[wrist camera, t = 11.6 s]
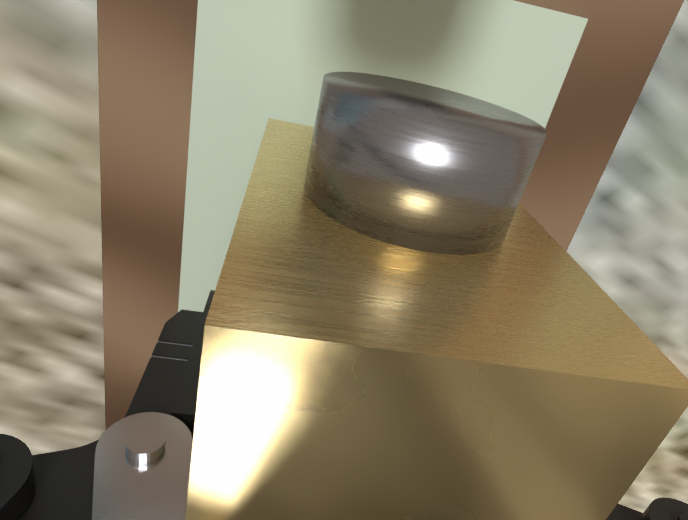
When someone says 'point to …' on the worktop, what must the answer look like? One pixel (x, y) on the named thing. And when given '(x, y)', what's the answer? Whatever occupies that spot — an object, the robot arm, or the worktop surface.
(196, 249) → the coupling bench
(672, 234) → the worktop surface
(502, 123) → the coupling block
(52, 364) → the worktop surface
